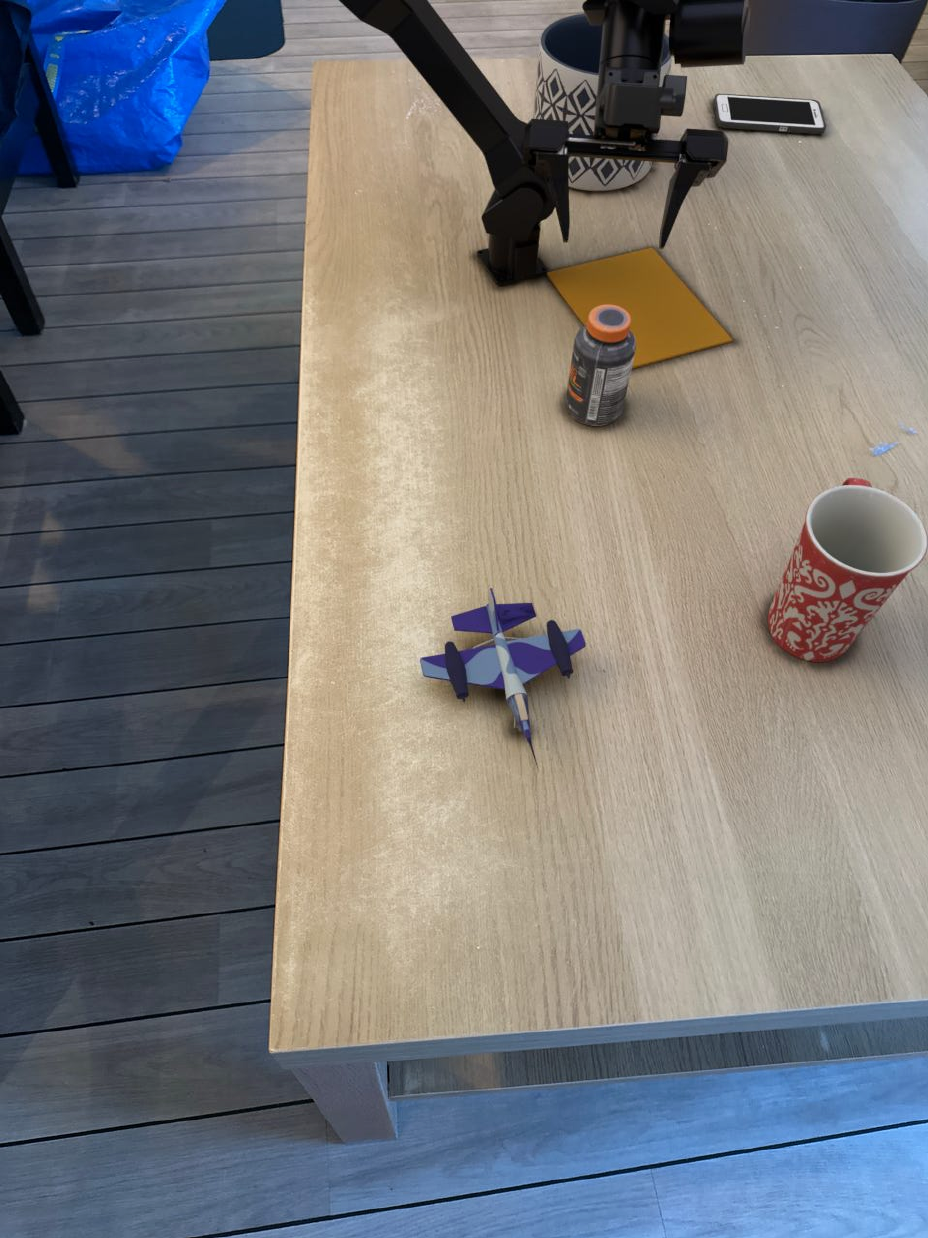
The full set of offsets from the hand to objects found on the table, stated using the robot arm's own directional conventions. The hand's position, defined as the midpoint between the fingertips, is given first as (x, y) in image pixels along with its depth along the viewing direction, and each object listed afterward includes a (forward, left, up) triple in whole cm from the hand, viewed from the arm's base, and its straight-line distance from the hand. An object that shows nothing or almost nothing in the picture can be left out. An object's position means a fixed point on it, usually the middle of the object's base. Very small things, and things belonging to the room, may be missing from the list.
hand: (613, 244), depth 92 cm
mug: (+37, +2, -14) cm, 40 cm away
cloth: (-6, +8, -13) cm, 17 cm away
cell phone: (-36, +45, -13) cm, 59 cm away
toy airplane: (+34, -26, -14) cm, 45 cm away
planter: (-35, +17, -14) cm, 41 cm away
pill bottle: (+7, -4, -14) cm, 16 cm away
